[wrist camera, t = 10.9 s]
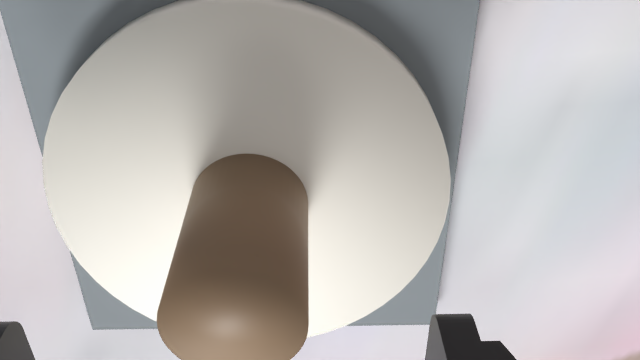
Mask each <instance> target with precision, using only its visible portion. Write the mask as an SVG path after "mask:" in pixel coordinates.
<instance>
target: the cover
mask: <svg viewBox="0 0 640 360" xmlns="http://www.w3.org/2000/svg"><path fill="white" fill-rule="evenodd" d="M42 165H43V182H44V188H45V193H46V197H47V202H48V206H49V209H50V212H51V214H52V217H53V220H54V222H55V225H56V227H57V229H58V231H59V233H60V235H61V236H62V238H63V240H64V242H65V244H66V246H67V247H68V249H69V250H70V251H71V253H72V254H73V255H74V257H75V258H76V260H77V261H78V262H79V264H80V265H81V266H82V267H83V268H84V269H85V270H86V271H87V272H88V273H89V275H90V276H91V277H92V278H93V279H94V280H95V281H96V282H97V283H98V284H100V285H101V286H102V287H103V288H104V289H105V290H107V291H108V292H109V293H110V294H111V295H113V296H114V297H115V298H117V299H118V300H120V301H121V302H123V303H124V304H126V305H127V306H129V307H130V308H132V309H133V310H135V311H137V312H139V313H141V314H143V315H144V316H146V317H148V318H150V319H152V320H154V321H157V327H158V331H159V334H160V336H161V338H162V340H163V342H164V343H165V344H166V346H167V347H168V348H169V349H170V350H171V351H172V353H174V354H175V355H176V356H177V357H178V358H180V359H181V360H290V359H291V358H293V357H294V356H295V355H296V354H297V353H298V352H299V350H300V349H301V347H302V346H303V344H304V342H305V340H306V338H308V337H312V336H316V335H320V334H324V333H327V332H330V331H333V330H335V329H338V328H341V327H344V326H346V325H348V324H351V323H353V322H355V321H357V320H359V319H361V318H363V317H365V316H367V315H368V314H370V313H372V312H373V311H375V310H376V309H378V308H380V307H381V306H383V305H384V304H385V303H387V302H388V301H389V300H390V299H392V298H393V297H394V296H395V295H397V294H398V293H399V292H400V291H401V290H402V289H403V288H404V287H405V286H406V285H407V284H408V283H409V282H410V281H411V280H412V279H413V278H414V277H415V276H416V274H417V273H418V272H419V270H420V269H421V268H422V267H423V265H424V264H425V263H426V261H427V260H428V258H429V256H430V254H431V253H432V251H433V249H434V247H435V245H436V244H437V242H438V239H439V237H440V234H441V231H442V229H443V226H444V224H445V220H446V215H447V211H448V206H449V201H450V185H451V177H450V166H449V157H448V153H447V149H446V145H445V142H444V138H443V134H442V132H441V129H440V127H439V124H438V122H437V119H436V117H435V114H434V112H433V110H432V107H431V105H430V103H429V100H428V98H427V96H426V94H425V93H424V91H423V89H422V88H421V86H420V85H419V83H418V81H417V80H416V78H415V77H414V75H413V74H412V73H411V71H410V70H409V69H408V68H407V67H406V66H405V64H404V63H403V62H402V61H401V60H400V59H399V57H398V56H397V55H396V54H395V53H394V52H393V51H391V50H390V49H389V48H388V47H387V46H386V45H385V44H384V43H382V42H381V41H380V40H379V39H378V38H377V37H375V36H374V35H372V34H371V33H369V32H368V31H366V30H365V29H363V28H362V27H360V26H359V25H357V24H356V23H354V22H353V21H351V20H349V19H347V18H345V17H343V16H341V15H339V14H336V13H334V12H332V11H330V10H328V9H326V8H323V7H320V6H317V5H314V4H311V3H308V2H305V1H302V0H178V1H176V2H173V3H170V4H167V5H165V6H162V7H159V8H156V9H154V10H151V11H150V12H148V13H146V14H144V15H142V16H140V17H138V18H136V19H135V20H133V21H131V22H129V23H127V24H126V25H125V26H123V27H122V28H121V29H119V30H118V31H117V32H115V33H114V34H113V35H111V36H110V37H109V38H107V39H106V40H105V41H104V42H103V43H102V44H101V45H100V46H99V47H98V48H97V49H96V50H95V51H94V53H93V54H92V55H91V56H90V57H89V58H88V59H87V60H86V61H85V63H84V64H83V65H82V66H81V67H80V69H79V70H78V71H77V72H76V74H75V75H74V77H73V78H72V79H71V81H70V82H69V84H68V85H67V87H66V88H65V89H64V91H63V92H62V94H61V96H60V98H59V100H58V102H57V104H56V106H55V109H54V111H53V113H52V115H51V118H50V122H49V125H48V129H47V132H46V136H45V141H44V150H43V160H42Z"/></svg>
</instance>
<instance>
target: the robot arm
mask: <svg viewBox="0 0 640 360" xmlns="http://www.w3.org/2000/svg"><path fill="white" fill-rule="evenodd" d="M0 360H35V358H34V356H33V353H32V350H31V348H30V345H29V343H28V340H27V338H26V335H25V332H24V330H23V328H22V326H21V324H20V323H18V322H0ZM425 360H516V359H515V357H514V356H513V355H512V354H511V353H510V352H509V351H508V349H507V348H506V347H505V346H504V345H503V344H502V343H501V342H500V341H481V340H480V337H479V334H478V331H477V328H476V324H475V321H474V319H473V317H472V315H471V314H434V315H432V317H431V321H430V327H429V335H428V342H427V349H426V357H425Z"/></svg>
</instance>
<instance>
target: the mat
mask: <svg viewBox="0 0 640 360" xmlns="http://www.w3.org/2000/svg"><path fill="white" fill-rule="evenodd" d="M176 1H178V0H0V12H1V15H2V19H3V22H4V26H5V29H6V32H7V36H8V39H9V43H10V46H11V50H12V53H13V57H14V60H15V63H16V67H17V70H18V74H19V77H20V81H21V84H22V88H23V91H24V94H25V98H26V101H27V105H28V108H29V112H30V115H31V119H32V122H33V126H34V129H35V132H36V136H37V139H38V143H39V146H40V150H41V153H42V157H43V150H44V141H45V136H46V132H47V129H48V125H49V122H50V118H51V115H52V113H53V111H54V109H55V106H56V104H57V102H58V100H59V98H60V96H61V94H62V92H63V91H64V89H65V88H66V87H67V85H68V84H69V82H70V81H71V79H72V78H73V77H74V75H75V74H76V72H77V71H78V70H79V69H80V67H81V66H82V65H83V64H84V63H85V61H86V60H87V59H88V58H89V57H90V56H91V55H92V54H93V53H94V51H95V50H96V49H97V48H98V47H99V46H100V45H101V44H102V43H103V42H104V41H105V40H106V39H107V38H109V37H110V36H111V35H113V34H114V33H115V32H117V31H118V30H119V29H121V28H122V27H123V26H125V25H126V24H127V23H129V22H131V21H133V20H135V19H136V18H138V17H140V16H142V15H144V14H146V13H148V12H150V11H151V10H154V9H156V8H159V7H162V6H165V5H167V4H170V3H173V2H176ZM302 1H305V2H308V3H311V4H314V5H317V6H320V7H323V8H326V9H328V10H330V11H332V12H334V13H336V14H339V15H341V16H343V17H345V18H347V19H349V20H351V21H353V22H354V23H356V24H357V25H359V26H360V27H362V28H363V29H365V30H366V31H368V32H369V33H371V34H372V35H374V36H375V37H377V38H378V39H379V40H380V41H381V42H382V43H384V44H385V45H386V46H387V47H388V48H389V49H390V50H391V51H393V52H394V53H395V54H396V55H397V56H398V57H399V59H400V60H401V61H402V62H403V63H404V64H405V66H406V67H407V68H408V69H409V70H410V71H411V73H412V74H413V75H414V77H415V78H416V80H417V81H418V83H419V85H420V86H421V88H422V89H423V91H424V93H425V94H426V96H427V98H428V100H429V103H430V105H431V107H432V110H433V112H434V114H435V117H436V119H437V122H438V124H439V127H440V129H441V132H442V134H443V138H444V142H445V145H446V149H447V153H448V157H449V166H450V177H451V185H450V201H449V206H448V211H447V215H446V220H445V224H444V226H443V229H442V231H441V234H440V237H439V239H438V242H437V244H436V245H435V247H434V249H433V251H432V253H431V254H430V256H429V258H428V260H427V261H426V263H425V264H424V265H423V267H422V268H421V269H420V270H419V272H418V273H417V274H416V276H415V277H414V278H413V279H412V280H411V281H410V282H409V283H408V284H407V285H406V286H405V287H404V288H403V289H402V290H401V291H400V292H399V293H398V294H397V295H395V296H394V297H393V298H392V299H390V300H389V301H388V302H387V303H385V304H384V305H383V306H381V307H380V308H378V309H376V310H375V311H373V312H372V313H370V314H368V315H367V316H365V317H363V318H361V319H359V320H357V321H355V322H353V323H351V324H348V325H346V326H363V325H429V324H430V321H431V317H432V315H434V314H436V307H437V300H438V293H439V286H440V279H441V272H442V265H443V258H444V251H445V244H446V236H447V229H448V222H449V215H450V208H451V201H452V194H453V187H454V180H455V173H456V166H457V159H458V152H459V145H460V138H461V131H462V123H463V116H464V109H465V102H466V95H467V88H468V81H469V74H470V67H471V60H472V53H473V46H474V39H475V32H476V25H477V17H478V10H479V3H480V0H302ZM70 253H71V251H70ZM71 257H72V260H73V263H74V267H75V270H76V274H77V277H78V281H79V284H80V288H81V291H82V294H83V298H84V301H85V305H86V308H87V312H88V315H89V319H90V322H91V326H92V329H93V330H99V329H158V327H157V321H154V320H152V319H150V318H148V317H146V316H144V315H143V314H141V313H139V312H137V311H135V310H133V309H132V308H130V307H129V306H127V305H126V304H124V303H123V302H121V301H120V300H118V299H117V298H115V297H114V296H113V295H111V294H110V293H109V292H108V291H107V290H105V289H104V288H103V287H102V286H101V285H100V284H98V283H97V282H96V281H95V280H94V279H93V278H92V277H91V276H90V275H89V273H88V272H87V271H86V270H85V269H84V268H83V267H82V266H81V265H80V264H79V262H78V261H77V260H76V258H75V257H74V255H73V254H72V253H71Z"/></svg>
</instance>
